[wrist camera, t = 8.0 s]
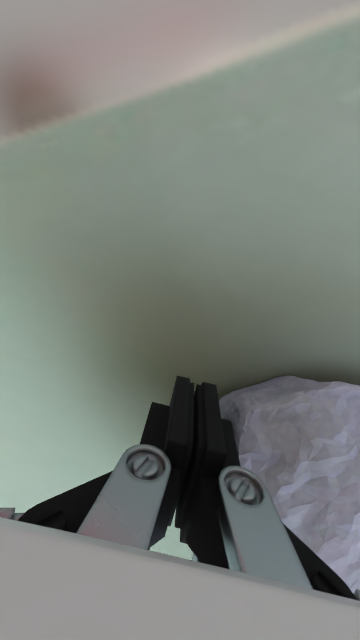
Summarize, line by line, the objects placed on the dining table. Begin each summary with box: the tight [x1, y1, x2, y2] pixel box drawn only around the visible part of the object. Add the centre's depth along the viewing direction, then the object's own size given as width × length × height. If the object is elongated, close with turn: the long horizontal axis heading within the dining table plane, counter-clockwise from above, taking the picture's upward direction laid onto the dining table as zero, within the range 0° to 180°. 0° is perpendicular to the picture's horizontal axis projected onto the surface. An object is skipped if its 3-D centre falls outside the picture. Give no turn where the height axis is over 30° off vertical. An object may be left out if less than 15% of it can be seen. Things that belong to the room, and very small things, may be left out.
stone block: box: [219, 376, 360, 593], centre depth 12 cm, size 12×5×10 cm
